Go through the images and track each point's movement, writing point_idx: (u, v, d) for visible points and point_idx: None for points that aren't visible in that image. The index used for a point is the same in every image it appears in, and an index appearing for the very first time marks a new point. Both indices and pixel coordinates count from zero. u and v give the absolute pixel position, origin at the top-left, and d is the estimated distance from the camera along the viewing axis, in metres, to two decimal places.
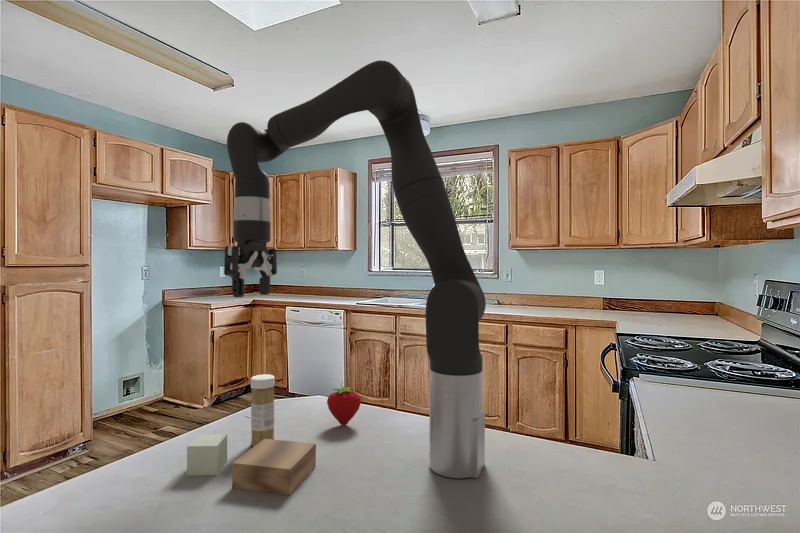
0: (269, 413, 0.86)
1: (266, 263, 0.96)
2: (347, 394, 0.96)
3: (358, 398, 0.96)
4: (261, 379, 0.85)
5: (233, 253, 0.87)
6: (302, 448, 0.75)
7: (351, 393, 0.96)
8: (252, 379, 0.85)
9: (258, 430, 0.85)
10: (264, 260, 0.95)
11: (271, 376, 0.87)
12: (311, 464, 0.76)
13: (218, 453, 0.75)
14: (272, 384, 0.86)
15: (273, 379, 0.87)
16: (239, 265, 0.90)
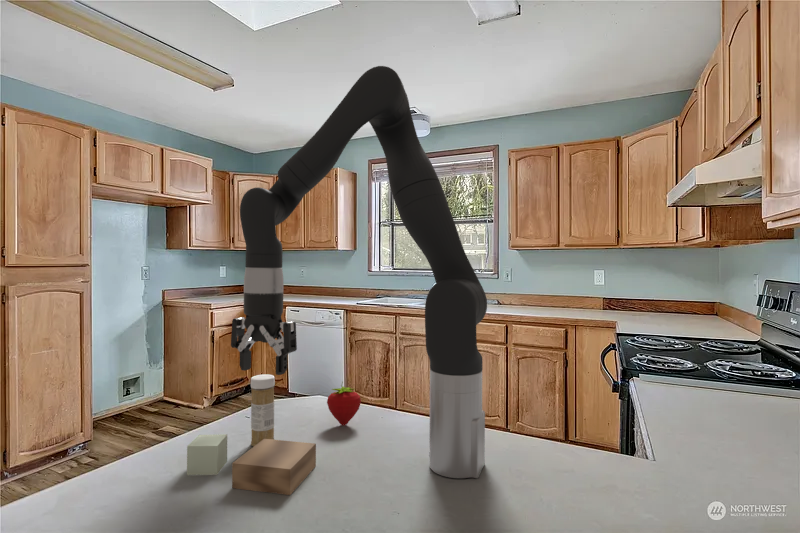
0: (269, 413, 0.86)
1: None
2: (347, 394, 0.96)
3: (358, 398, 0.96)
4: (261, 379, 0.85)
5: (295, 329, 0.85)
6: (302, 448, 0.75)
7: (351, 393, 0.96)
8: (252, 379, 0.85)
9: (258, 430, 0.85)
10: None
11: (271, 376, 0.87)
12: (311, 464, 0.76)
13: (218, 453, 0.75)
14: (272, 384, 0.86)
15: (273, 379, 0.87)
16: (279, 341, 0.85)
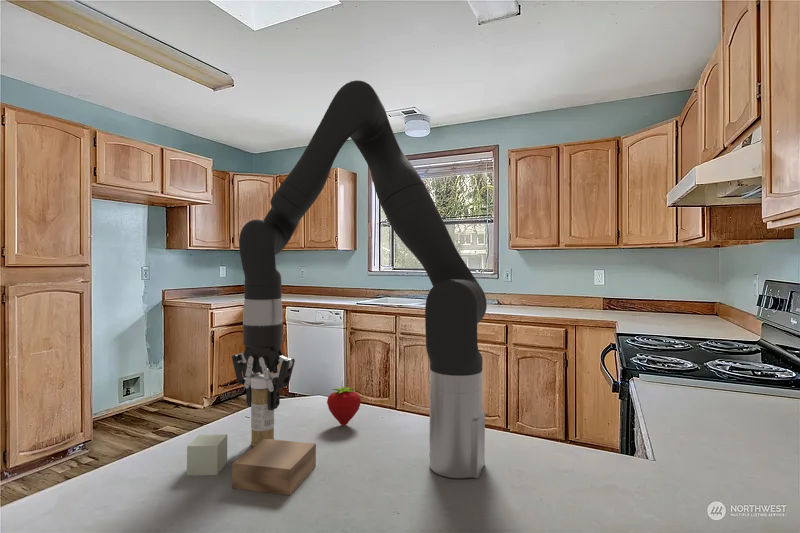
0: (269, 413, 0.86)
1: None
2: (347, 394, 0.96)
3: (358, 398, 0.96)
4: (261, 379, 0.85)
5: (292, 366, 0.85)
6: (302, 448, 0.75)
7: (351, 393, 0.96)
8: (252, 379, 0.85)
9: (258, 430, 0.85)
10: None
11: None
12: (311, 464, 0.76)
13: (218, 453, 0.75)
14: None
15: (273, 379, 0.87)
16: (274, 375, 0.86)
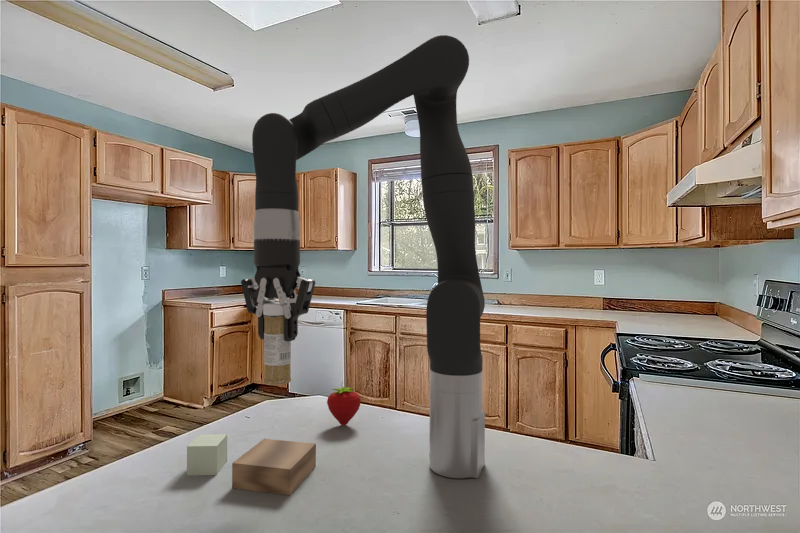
0: (286, 345, 0.72)
1: None
2: (347, 394, 0.96)
3: (358, 398, 0.96)
4: (276, 304, 0.72)
5: (312, 289, 0.72)
6: (302, 448, 0.75)
7: (351, 393, 0.96)
8: (265, 305, 0.72)
9: (272, 365, 0.72)
10: None
11: None
12: (311, 464, 0.76)
13: (218, 453, 0.75)
14: None
15: (290, 306, 0.73)
16: (291, 300, 0.73)
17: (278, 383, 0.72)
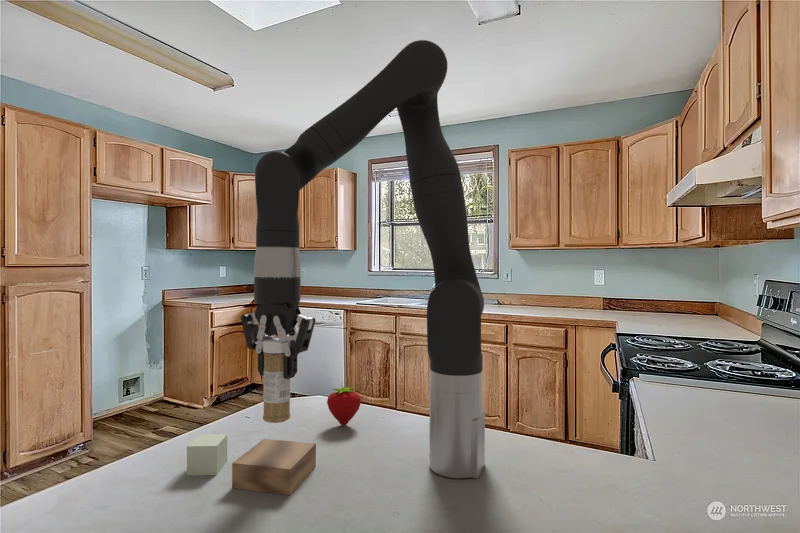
0: (285, 382, 0.72)
1: None
2: (347, 394, 0.96)
3: (358, 398, 0.96)
4: (276, 342, 0.72)
5: (313, 327, 0.72)
6: (302, 448, 0.75)
7: (351, 393, 0.96)
8: (265, 342, 0.72)
9: (271, 402, 0.71)
10: None
11: None
12: (311, 464, 0.76)
13: (218, 453, 0.75)
14: None
15: None
16: (291, 338, 0.72)
17: (277, 421, 0.72)
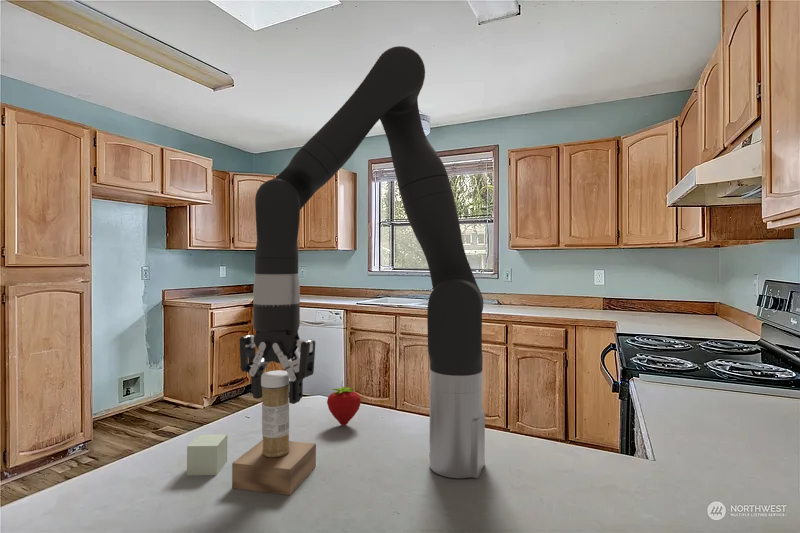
0: (284, 416, 0.72)
1: None
2: (347, 394, 0.96)
3: (358, 398, 0.96)
4: (274, 376, 0.71)
5: (314, 349, 0.72)
6: (302, 448, 0.75)
7: (351, 393, 0.96)
8: (263, 376, 0.72)
9: (270, 437, 0.71)
10: None
11: (285, 372, 0.73)
12: (311, 464, 0.76)
13: (218, 453, 0.75)
14: (287, 382, 0.73)
15: (288, 376, 0.73)
16: (294, 362, 0.72)
17: (277, 455, 0.71)
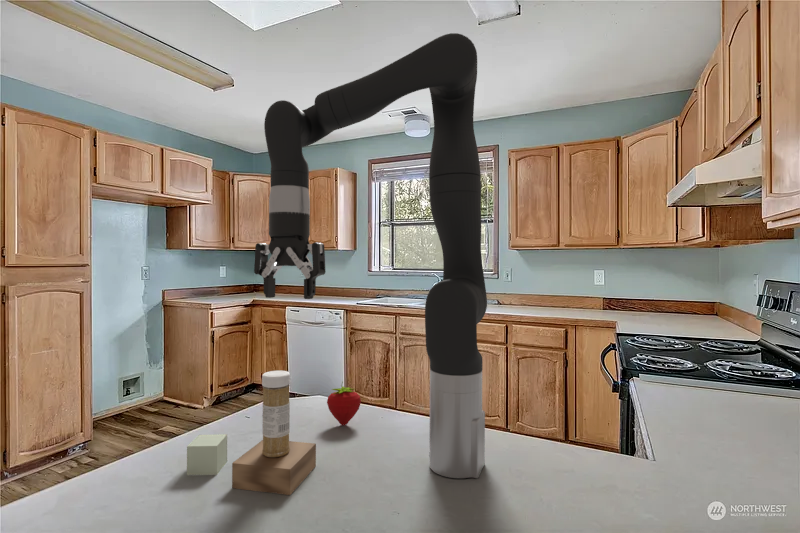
0: (284, 416, 0.72)
1: None
2: (347, 394, 0.96)
3: (358, 398, 0.96)
4: (275, 376, 0.72)
5: (323, 251, 0.81)
6: (302, 448, 0.75)
7: (351, 393, 0.96)
8: (264, 376, 0.72)
9: (271, 437, 0.71)
10: None
11: (286, 373, 0.74)
12: (311, 464, 0.76)
13: (218, 453, 0.75)
14: (287, 382, 0.73)
15: (289, 376, 0.73)
16: (306, 264, 0.81)
17: (277, 455, 0.71)
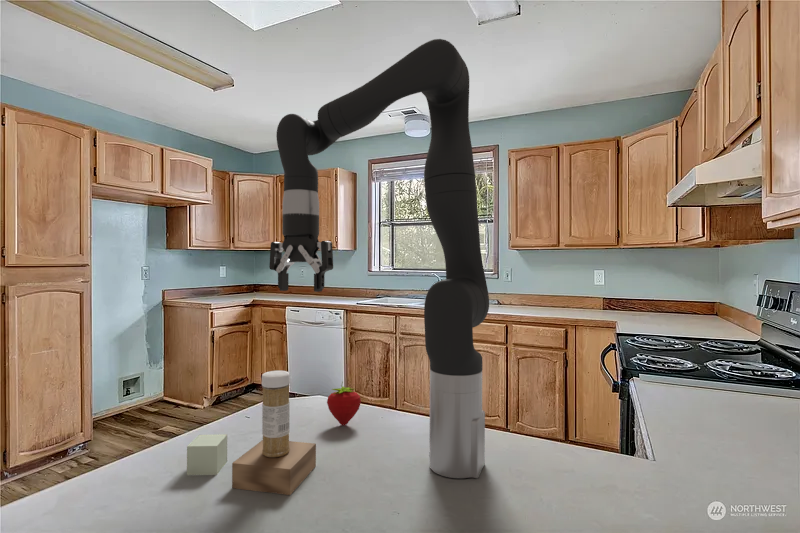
0: (284, 416, 0.72)
1: None
2: (347, 394, 0.96)
3: (358, 398, 0.96)
4: (274, 376, 0.72)
5: (331, 248, 0.90)
6: (302, 448, 0.75)
7: (351, 393, 0.96)
8: (264, 376, 0.72)
9: (271, 437, 0.71)
10: None
11: (286, 372, 0.74)
12: (311, 464, 0.76)
13: (218, 453, 0.75)
14: (287, 382, 0.73)
15: (288, 376, 0.73)
16: (316, 260, 0.90)
17: (277, 455, 0.71)
